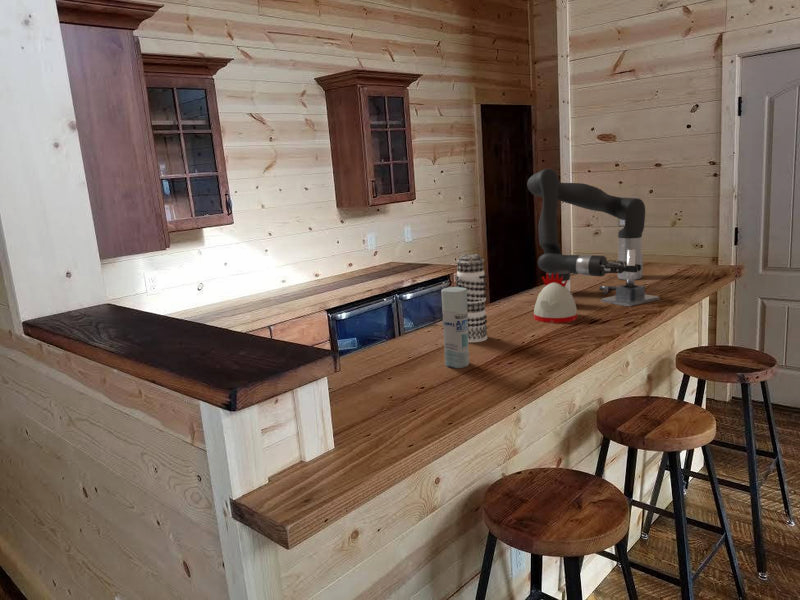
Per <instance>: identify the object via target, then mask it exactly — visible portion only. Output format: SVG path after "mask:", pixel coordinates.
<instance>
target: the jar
mask: <svg viewBox="0 0 800 600" xmlns="http://www.w3.org/2000/svg"><path fill="white" fill-rule="evenodd" d="M546 273H548V275H549V278H550V279H551V275H552V273H554V279H555V278H556V274H557V273H558V275H559V280H560V278H561V277H562V276H563V279H562V283H563V284H564V283H565V281H566V280H567V283H566V285H565V287H566V288H567V289H568V290H569V291H570V292H571V273H570V272H569V271H565V270H553V271H548V272H546V271H545V274H546Z"/></svg>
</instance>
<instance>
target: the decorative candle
mask: <svg viewBox="0 0 800 600" xmlns="http://www.w3.org/2000/svg"><path fill="white" fill-rule="evenodd" d="M484 261H485V259H483V258H482V257H481V255H480V254H475V253H471V254H463V255H461V256H459V258H458V259H457V260H456V263H457V271H456V273H457V274H456V276H455V278H454V279H455V281H456V282H455V287H463V288H466V289H467V311H468V343H481V342H486V340H487V339H488V331H487V330H488V326H487V325H486V324H487V323H488V321H487V320H486V319H487V317H488V316H487V315H486V304H485V302H487V301H486V300H487V294H486V293H485V291H487V290H488V288H487V287H486V285H487V284H488V283H487V281H485V279H487V278H488V276H487V275H486V274H485V268H484Z"/></svg>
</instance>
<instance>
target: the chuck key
mask: <svg viewBox="0 0 800 600" xmlns="http://www.w3.org/2000/svg"><path fill="white" fill-rule="evenodd" d="M616 287H617V285H599V290H602V291H601V292H602V294H603V295H607V294H608V293H609V291H610V290H613V291H616Z"/></svg>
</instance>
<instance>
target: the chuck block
mask: <svg viewBox="0 0 800 600" xmlns="http://www.w3.org/2000/svg"><path fill="white" fill-rule="evenodd" d="M600 300H601V302H602V303H608V304H612V305H618V306H624V307H627V306H628V307H633V305H634V306H638V305H641V304H646V303H651V302H655V301H660V296H657V295H651V294H646V286H645V285H640V284H634V288H626V283H625V284H620V285H616V290H615V295H612V296H608V297H602V298H601V299H600Z"/></svg>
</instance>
